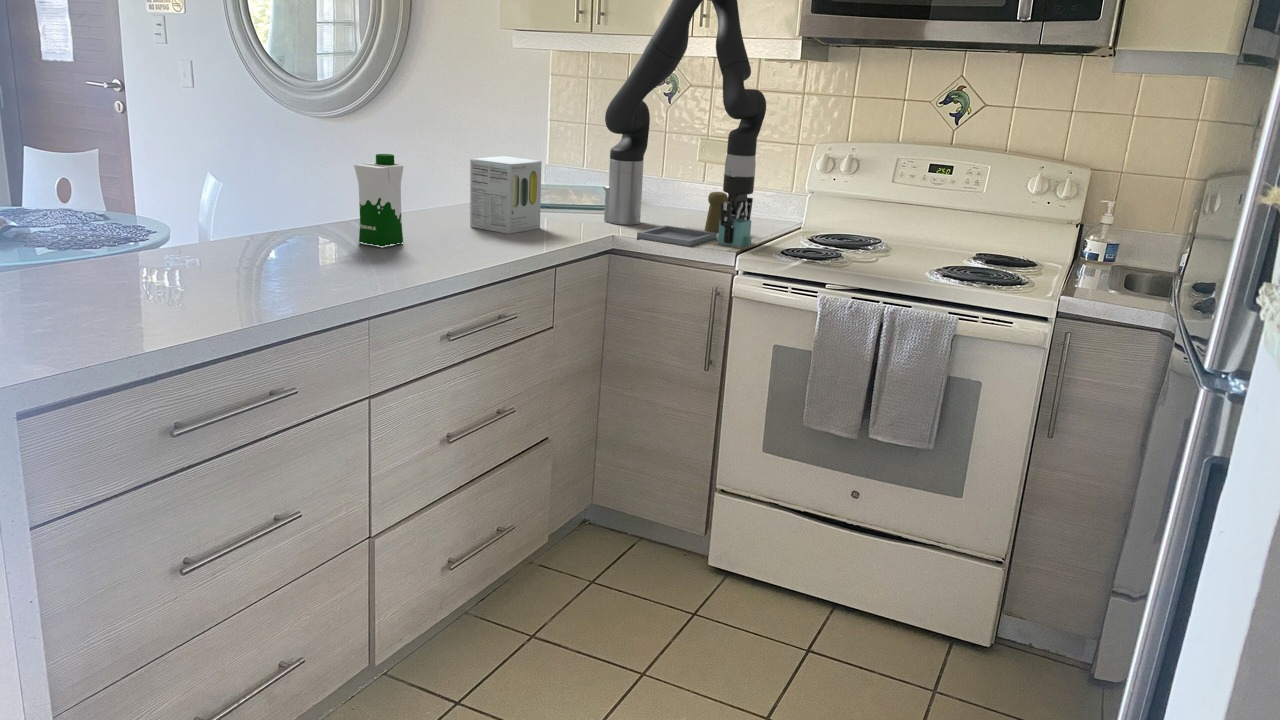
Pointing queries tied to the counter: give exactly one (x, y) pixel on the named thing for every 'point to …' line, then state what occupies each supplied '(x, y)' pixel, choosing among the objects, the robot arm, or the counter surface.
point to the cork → (714, 211)
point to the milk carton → (380, 201)
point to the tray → (676, 236)
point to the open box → (737, 234)
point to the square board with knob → (732, 246)
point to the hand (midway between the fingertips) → (733, 240)
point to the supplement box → (505, 194)
